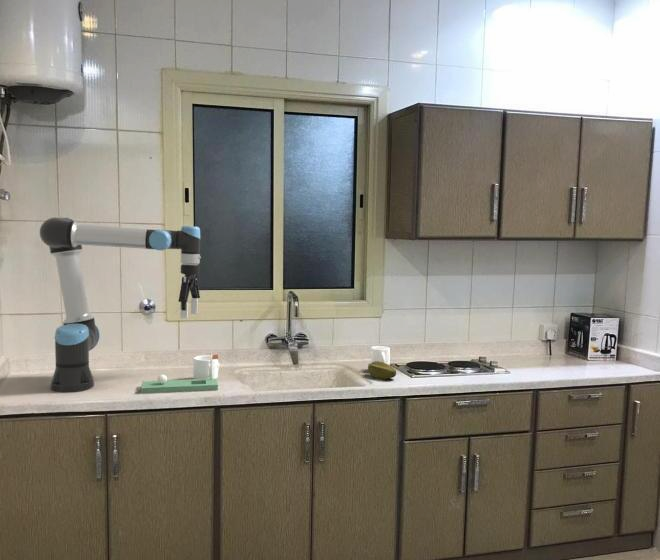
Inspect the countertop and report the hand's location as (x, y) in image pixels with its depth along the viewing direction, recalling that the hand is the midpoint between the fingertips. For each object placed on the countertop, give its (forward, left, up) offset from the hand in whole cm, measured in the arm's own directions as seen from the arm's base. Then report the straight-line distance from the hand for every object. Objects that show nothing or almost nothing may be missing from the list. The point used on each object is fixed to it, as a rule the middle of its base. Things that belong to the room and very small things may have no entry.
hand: (189, 316), depth 245 cm
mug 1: (+7, -6, -26) cm, 27 cm away
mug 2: (+83, -4, -26) cm, 87 cm away
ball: (-10, -17, -22) cm, 29 cm away
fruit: (+80, -14, -26) cm, 85 cm away
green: (-4, -17, -26) cm, 31 cm away
